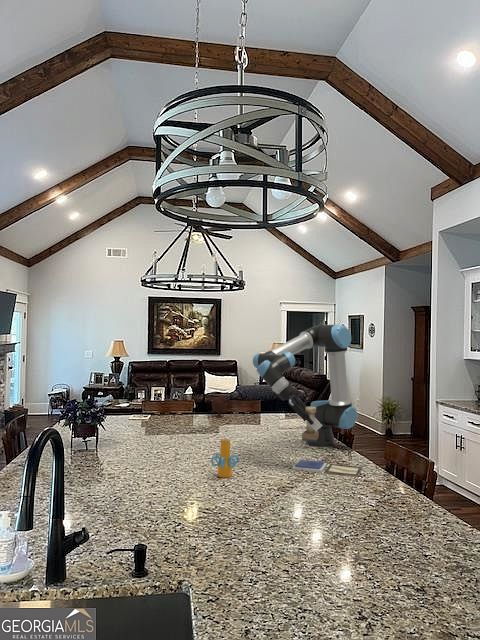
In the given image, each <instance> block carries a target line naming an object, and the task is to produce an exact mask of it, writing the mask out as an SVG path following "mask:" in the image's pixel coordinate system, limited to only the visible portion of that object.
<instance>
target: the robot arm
mask: <svg viewBox="0 0 480 640" xmlns="http://www.w3.org/2000/svg"><path fill="white" fill-rule="evenodd" d="M351 343H352V333H351V331H350V329H348V327H347V326H346V325H341V324H319V325H314V326H312V327H309V328H308V329H305V330H304V331H301V332H300V333H299V335H298V336H295V337H294V338H292V339H290V340H288V341H286V342H284V343H282V344H280V345H277V346H275V348H272V349H270V350H268V351H266V352H264V353H261V352H260V353H256V354H255V355H254V356H253V358H252V365H253V366H254V368H255V369H256V372H257V373H258V375H259V377H261V379H263V381H264V382H265V383H266V384H267V385H268V386H269V387H270V388H271V390H272V392H274V393H276V394H277V395H278V398H280V399H281V400H282V401H283V402H284V401H286V400H287V401H288V403H287V404H288V406H290V408H292V409H293V410H294V411H295V413H296V414H297V415H298V416H299V417H300V418H301V419H302V421H303V422H306V423H307V422H308V423H309V424H310V426H311V427H312V428H313V429H314V430H315V431H318V432H319V439H318V440H317V441H316V442H312V441H305V442H306V444H307V445H311V446H316V447H317V446H318V447H331V446H335V444H336V443H335V441H336V439H335V436H334V434H333V433H334V432H333V430H332V429H333V428H332V427H334V428H339V429H346V430H349V429H352V428H353V426H355V424H356V423H357V419H358V410H357V409H356V408H355V407H354V406H353V405H352V401H351V399H350V398H349V393H348V392H349V391H348V390H349V389H348V381H347V380H348V379H347V367H346V352H347V351H348V348H349V347H350V346H351ZM315 347H320V348H321V347H322V348H324V353H325V354H326V355H327V359H328V370H329V384H330V393H331V400H326V399H325V400H315V401H311V403H310V406H309V407H316V412H315V421H314V419H313V418H312V417H311V416H309V415H308V414H307V412H306V411H305V407H308V406H307V405H306V403H305V402H304V401H303V399H301V398H300V396H297V395H295V394H294V393H295V391H296V389H295V388H294V387H293V385H291V384H290V382H289V381H288V380H287V379H286V378H285V377H284V375H283V374H285V372H287V371H288V370H290V369H291V368H292V367H293V366H294V365H295V364H296V358H295V356H294V355H296V354H298V353H300V352H302V351H304V350H310V349H312V348H315Z"/></svg>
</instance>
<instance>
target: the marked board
mask: <svg viewBox="0 0 480 640" xmlns="http://www.w3.org/2000/svg"><path fill="white" fill-rule="evenodd" d="M362 470H363V469H362V466H355V465H354V466H353V465H345V464H336V463H330V464H329V465H328V467H326V468H325V471H324V474H328V475H338V476H347V477H355V478H358V477H359V476H360V474H361V472H362Z"/></svg>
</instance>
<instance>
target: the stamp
mask: <svg viewBox="0 0 480 640" xmlns="http://www.w3.org/2000/svg"><path fill="white" fill-rule="evenodd" d="M305 411H306V412H307V414H308V415H309V416H311V417H312V418H313V419H314V421H315V412H316V407H310V406H307V407H305ZM318 439H319V432H318V431H315V430H314V429H313V428H312V427H311V426H310V424H309V423H308V422H307V421H306V430H305V431H303V432H302V433H301V441H302V442H306V441H312V442H316V441H317V440H318Z"/></svg>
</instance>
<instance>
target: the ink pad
mask: <svg viewBox="0 0 480 640" xmlns="http://www.w3.org/2000/svg"><path fill="white" fill-rule="evenodd" d="M327 465H328V463H326V462H325V461H318V460H317V461H316V460H308V459H300V460H298V461H297V462H296V463H295V464H294V465H293V466H292V467H291V469H292V470H294V471H302V470H303V471H304V472H311V473H323V471H324V470H326V468H327ZM303 471H302V472H303Z"/></svg>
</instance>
